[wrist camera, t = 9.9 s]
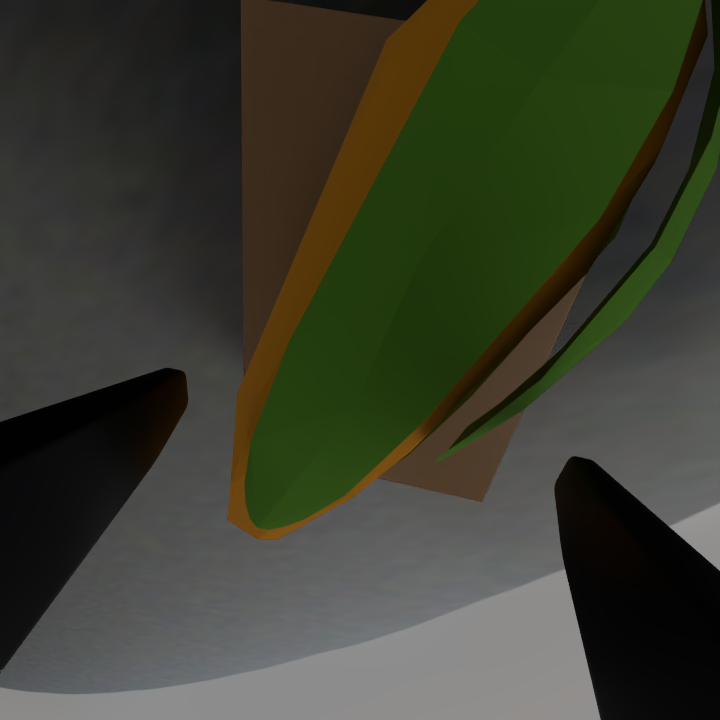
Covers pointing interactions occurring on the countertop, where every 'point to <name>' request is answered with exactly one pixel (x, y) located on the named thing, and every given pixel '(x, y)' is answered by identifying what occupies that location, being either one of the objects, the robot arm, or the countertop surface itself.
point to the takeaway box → (303, 190)
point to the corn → (463, 234)
